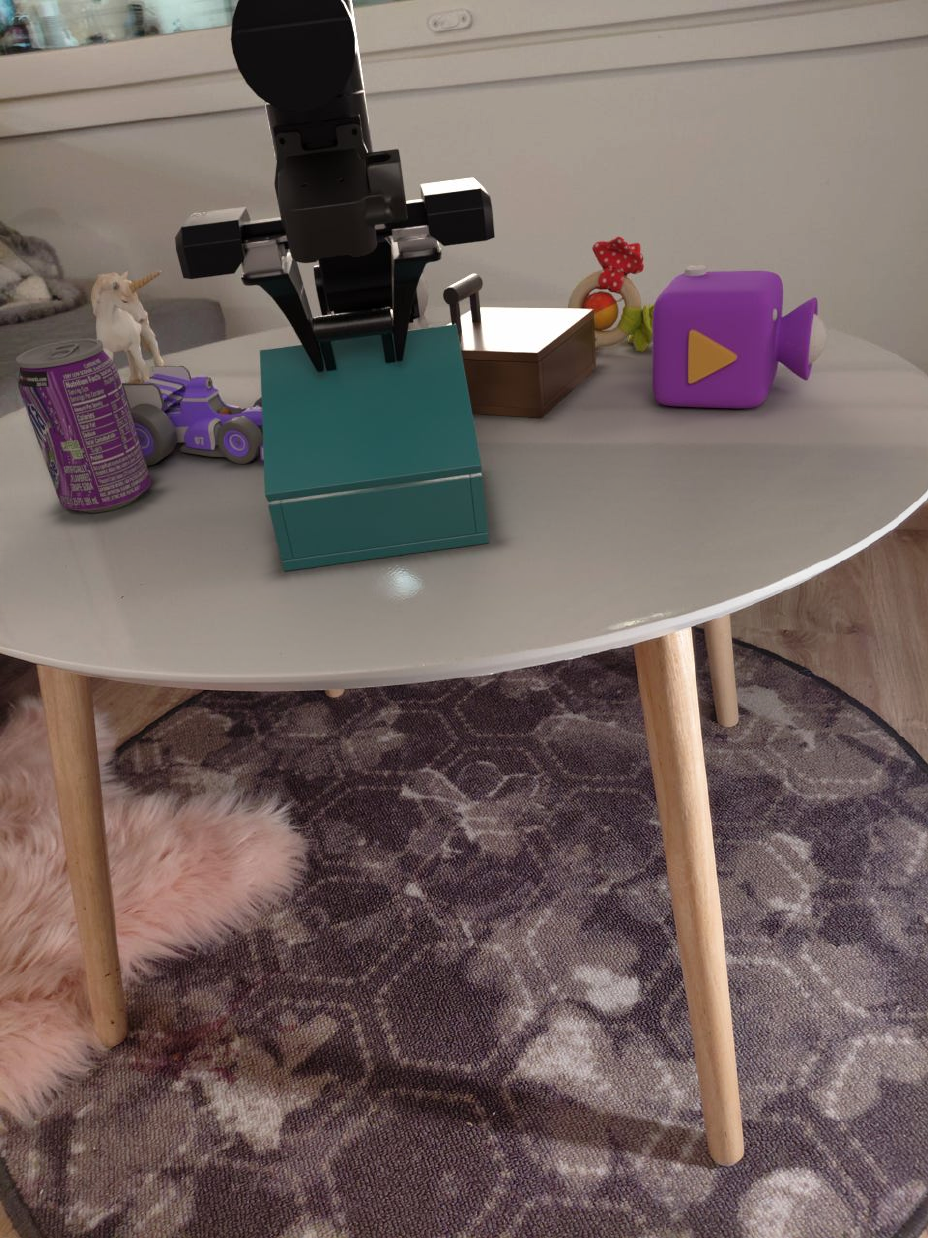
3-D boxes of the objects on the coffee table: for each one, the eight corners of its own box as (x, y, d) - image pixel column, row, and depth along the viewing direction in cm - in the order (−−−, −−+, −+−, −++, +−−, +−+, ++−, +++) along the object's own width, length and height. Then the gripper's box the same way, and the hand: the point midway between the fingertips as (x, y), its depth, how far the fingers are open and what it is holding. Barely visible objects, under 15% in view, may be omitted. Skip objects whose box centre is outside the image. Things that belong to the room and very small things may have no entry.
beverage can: (76, 487, 78) (26, 343, 72) (161, 476, 78) (118, 331, 72) (51, 524, 72) (-6, 370, 66) (143, 512, 72) (95, 357, 66)
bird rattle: (595, 381, 94) (680, 337, 91) (543, 279, 89) (632, 230, 86) (594, 362, 99) (674, 321, 96) (545, 265, 94) (628, 218, 91)
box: (424, 410, 85) (417, 358, 83) (487, 363, 95) (483, 316, 93) (541, 418, 80) (538, 362, 78) (596, 368, 90) (594, 317, 88)
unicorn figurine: (126, 429, 90) (81, 285, 83) (98, 382, 105) (59, 257, 98) (199, 411, 92) (162, 270, 85) (162, 367, 108) (128, 245, 101)
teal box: (294, 499, 71) (281, 439, 69) (472, 475, 72) (465, 415, 69) (283, 571, 61) (267, 505, 59) (489, 543, 62) (482, 475, 59)
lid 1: (262, 358, 65) (244, 301, 61) (456, 332, 65) (452, 274, 61) (267, 502, 59) (247, 451, 55) (482, 472, 59) (479, 419, 55)
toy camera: (827, 413, 74) (840, 283, 69) (651, 419, 77) (651, 294, 72) (812, 370, 83) (823, 252, 78) (655, 377, 86) (655, 263, 81)
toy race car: (274, 470, 77) (256, 392, 73) (122, 466, 82) (98, 393, 78) (323, 427, 84) (309, 355, 81) (181, 425, 89) (162, 357, 86)
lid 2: (409, 357, 83) (401, 299, 81) (475, 315, 93) (470, 262, 91) (538, 362, 78) (534, 300, 75) (594, 317, 88) (592, 261, 85)
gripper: (121, 133, 47) (202, 429, 55) (493, 85, 47) (516, 387, 55) (161, 112, 56) (224, 369, 64) (471, 73, 56) (494, 333, 65)
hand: (359, 365), depth 62 cm, fingers closed on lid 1, 5 cm apart
